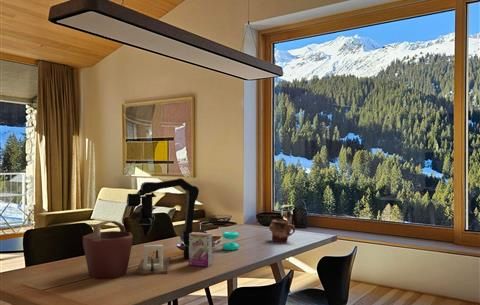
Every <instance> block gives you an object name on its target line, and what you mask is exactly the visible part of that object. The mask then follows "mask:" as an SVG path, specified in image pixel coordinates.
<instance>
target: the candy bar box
mask: <svg viewBox="0 0 480 305" xmlns="http://www.w3.org/2000/svg"><path fill="white" fill-rule="evenodd" d="M212 241H213V234H212V233H210V232H209V233H208V232H196V231H195V232H194V231H193V232H192V233H189V259H188V266H195V267H203V268H209V267H211V266H212V264H213V263H212V261H213V260H212V259H213V258H212V257H213V255H212V254H213V251H212V249H213V248H212V247H213V246H212V245H213V242H212Z"/></svg>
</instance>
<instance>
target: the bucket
mask: <svg viewBox="0 0 480 305" xmlns="http://www.w3.org/2000/svg"><path fill="white" fill-rule="evenodd" d="M109 223H111V224H114V225H115V226H117V228H118V229H119V231H118V230H117V231H116V230H110V231H109V230H108V231H101V227H102V226H105V225H107V224H109ZM92 228H93V232H91V233H89V234H86V235H83V236H82V245H83V246H82V247H83V251H84V256H85V261H86V266H87V270H88V275H89V277H91V278H93V279H95V280H112V279H113V280H114V279H118V278H120V277H124V276H126V275H127V272H128V268H129V267H128V266H129V263H130V262H129V261H130V257H131V253H132V247H133V234H132V232H130V231H126V228H125V226H124V224H122V223H120V222H118V221H116V220H107V221H106V220H105V221H101V222H99V223H97V224H95V225H93V226H92Z"/></svg>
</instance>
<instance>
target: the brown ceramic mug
mask: <svg viewBox="0 0 480 305" xmlns="http://www.w3.org/2000/svg"><path fill="white" fill-rule="evenodd" d="M268 227H269V228H268V229H269V231H270V232H271V241H272V242H274V241H276V242H275V243H285V241H286V242H288V238H289V237H290V236H292V235H293V234H294V233H295V232H296V227H295V225H293V224H291V223H290V221H289V220H287V219H273V220H271V222H270V225H269V226H268Z"/></svg>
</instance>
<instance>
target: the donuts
mask: <svg viewBox="0 0 480 305" xmlns="http://www.w3.org/2000/svg"><path fill="white" fill-rule="evenodd" d="M239 235H240V234H239V232H236V231H225V232H223V233H222V234H221V236H222V238H223V239H225V240H236V239H238V238H239V237H240V236H239ZM221 248H222V249H223V250H224V251H230V250H232V251H237V250H238V249H239V248H240V245H239V244H238V243H236V242H225V243H223V244H222V246H221Z"/></svg>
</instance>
